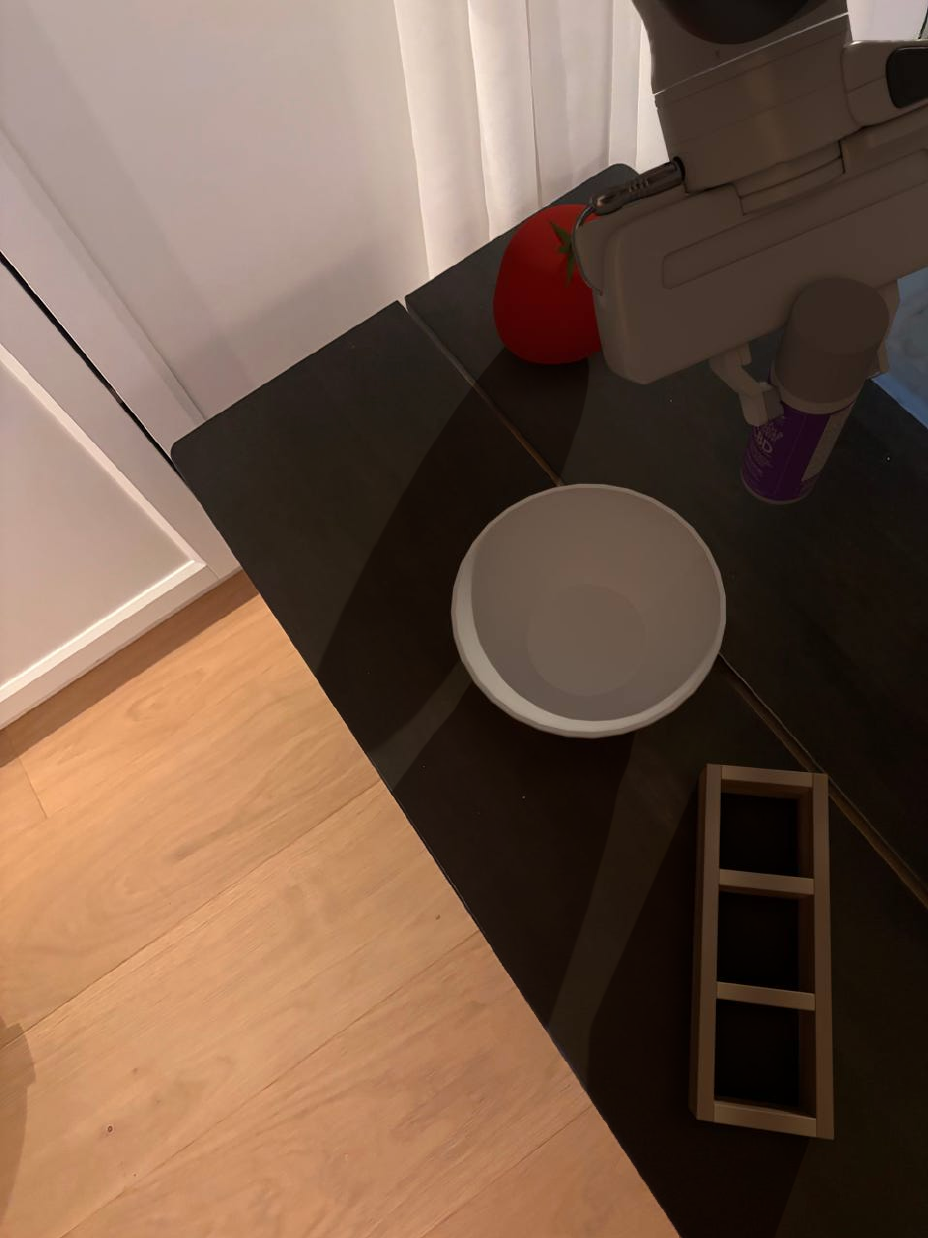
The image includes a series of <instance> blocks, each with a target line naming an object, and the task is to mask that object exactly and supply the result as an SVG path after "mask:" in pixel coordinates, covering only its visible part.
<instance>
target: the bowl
mask: <svg viewBox="0 0 928 1238" xmlns="http://www.w3.org/2000/svg"><path fill="white" fill-rule="evenodd" d="M724 587H725V586H724V584H723V579H722V575H721V571H720V569H719V566H718V565H717V563H716V561H715V559H714V556H713V554H712V552H711V550H710V548H709V547H708V546H707V544H706V542H705V541H704V540H703V539H702V537H701V536H700V535H699V533H698V532H697V531H696V529H695V528H694V527H693V526H692V525H691V524H690V523H688V521H687V520H685V518H683V517H682V516H681V515H680V514H679V513H678V512H676V511H675V510H673V509H672V508H670V507H668V506H667V505H665V504H664V503H662V502H660V501H659V500H657V499H655V498H654V497H652V496H649V495H646V494H643V493H640V492H638V491H635V490H633V489H630V488H626V487H620V486H615V485H610V484H606V483H605V484H604V483H576V484H575V483H573V484H568V485H564V486H563V485H562V486H556V487H552V488H549V489H546V490H543V491H540V492H537V493H535V494H531V495H529V496H527V497H525V498H523V499H521V500H520V501H518V502H516V503H514V504H513V505H510V506H509V507H507V508H506V509H505V510H503V511H502V512H501V513H499V515H497V516H496V517H494V519H493V520H491V521H490V522H489V523H488V524H487V525H486V526H485V527H484V529H483V530H482V531H481V532H480V533H479V534H478V536H477V537H476V538H475V539H474V540H473V542H472V543H471V545H470V547H469V548H468V550H467V552H466V553H465V555H464V557H463V559H462V561H461V563H460V564H459V569H458V572H457V574H456V578H455V581H454V584H453V587H452V596H451V597H452V598H451V608H450V618H451V626H452V636H453V639H454V643H455V646H456V648H457V652H458V655H459V657H460V660H461V662H462V664H463V666H464V667H465V669H466V671H467V673H468V675H469V676H470V678H471V680H472V681H473V683H474V684H475V685H476V687H478V689H479V690H480V691H481V692H482V693H483V694H484V695H485V696H486V697H487V699H488V700H489V702H491V704H493V705H495V706H496V707H498V709H500V710H502V711H503V712H505V713H506V714H507V715H508V716H510V717H511V718H513V719H515V721H519V722H520V723H523V724H525V725H527V726H529V727H531V728H534V729H536V730H538V731H541V732H545V733H549V734H553V735H557V736H560V737H561V736H562V737H565V738H578V739H601V738H607V737H614V736H622V735H625V734H628V733H631V732H634V731H638V730H640V729H643V728H647V727H649V726H651V725H653V724H655V723H657V722H658V721H660V720H661V719H663V718H664V717H666V716H668V715H670V714H672V713H673V712H674V711H676V710H677V709H679V707H680V706H682V705H683V704H684V703H685V702H686V701H687V700H688V699H689V698H690V697H691V696H693V694H695V693H696V691H697V690H698V688H699V687H700V686H701V684H702V683H703V682H704V680H705V679H706V678H707V676H708V675H709V673H710V672H711V670H712V668H713V666H714V663H715V661H716V659H717V657H718V655H719V652H720V650H721V647H722V645H723V644H722V643H723V638H724V634H725V629H726V623H727V603H726V602H727V600H726V599H727V598H726V597H727V596H726V592H725V588H724Z"/></svg>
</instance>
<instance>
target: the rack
mask: <svg viewBox="0 0 928 1238" xmlns="http://www.w3.org/2000/svg"><path fill="white" fill-rule="evenodd" d="M828 781H829V776H828V774H826V773H816V772H813V773H812V772H806V771H792V770H782V769H772V768H761V767H760V768H759V767H749V766H748V767H747V766H737V765H724V764H715V763H706V764H705V766H704V767H703V769H702V771H701V773H700V774H699V777H698V782H697V783H698V787H697V819H696V820H697V821H696V849H695V851H696V852H695V879H694V880H695V882H694V883H695V885H694V912H693V913H694V916H693V917H694V918H693V946H692V947H693V948H692V949H693V951H692V979H691V983H692V985H691V1007H690V1009H691V1010H690V1011H691V1013H690V1043H689V1044H690V1045H689V1076H688V1077H689V1078H688V1109H689V1110H690V1112H691V1113H692V1114H693V1116H694V1118H695V1119H696V1120H697V1121H704V1122H710V1123H716V1124H723V1125H731V1126H737V1127H743V1128H750V1129H756V1130H757V1129H758V1130H762V1131H770V1132H776V1133H784V1134H790V1135H797V1136H803V1137H810V1138H817V1139H823V1140H829V1141H830V1140H831V1141H834V1140H835V1121H834V1119H835V1118H834V1117H835V1116H834V1115H835V1113H834V1061H833V1059H834V1058H833V1056H834V1055H833V1053H834V1052H833V1006H832V1005H833V1004H832V1003H833V1002H832V944H831V941H832V940H831V891H830V890H831V889H830V888H831V886H830V885H831V884H830V831H829V829H830V827H829V826H830V825H829V823H830V822H829V782H828ZM721 793H722V794H733V795H742V796H743V795H744V796H753V797H763V798H764V797H765V798H776V799H786V800H787V799H788V800H796V801H797V807H796V808H797V809H796V811H797V814H796V815H797V816H796V817H797V819H796V821H797V822H796V823H797V825H796V826H797V827H796V829H797V837H796V839H797V877H796V876H789V875H779V874H768V873H760V872H759V873H758V872H751V871H750V872H749V871H743V870H742V871H741V870H733V869H722V868H720V845H721V843H720V838H721V837H720V836H721V801H722V800H721V796H722V794H721ZM719 892H724V893H732V894H742V895H749V896H750V895H751V896H759V897H768V898H778V899H785V900H786V899H787V900H795V901H797V957H798V958H797V977H798V978H797V981H798V982H797V983H798V984H797V985H798V986H797V987H798V989H797V990H798V991H794V990H787V989H781V988H780V989H779V988H771V987H764V986H763V987H762V986H756V985H748V984H739V983H733V982H732V983H731V982H723V981H717V977H718V975H717V973H718V971H717V970H718V968H717V967H718V964H717V963H718V934H719V933H718V931H719V930H718V929H719V927H718V925H719ZM717 999H719V1000H725V1001H732V1002H740V1003H748V1004H756V1005H763V1006H764V1005H765V1006H772V1007H778V1008H779V1007H780V1008H785V1009H787V1008H788V1009H794V1010H798V1012H797V1013H798V1106H795V1105H789V1104H781V1103H774V1102H767V1101H760V1100H754V1099H748V1098H747V1099H746V1098H741V1097H733V1096H726V1095H719V1094H715V1064H716V1063H715V1062H716V1061H715V1060H716V1059H715V1058H716V1022H717V1021H716V1020H717V1019H716V1018H717V1017H716V1015H717V1014H716V1013H717Z"/></svg>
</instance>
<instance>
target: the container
mask: <svg viewBox="0 0 928 1238" xmlns="http://www.w3.org/2000/svg"><path fill="white" fill-rule="evenodd" d="M888 325H889V311H888V307H887V305H886V303H885V301H884V299H883V298H882V297H881V295H880V294H879V293H878V292H877V291H875V290H874V289H873V288H871V287H870V286H868V285H866V284H864V283H862V282H859V281H856V280H852V279H847V278H831V279H825V280H822V281H819V282H816V283H814V284H812V285H810V286H809V287H807V288H806V289H805V290H804V291H802V292H801V294H800V295H799V296H798V297H797V299H796V301H795V303H794V305H793V308H792V311H791V314H790V316H789V319H788V322H787V325H786V326H785V327H784V331H783V333H782V337H781V339H780V341H779V344H778V347H777V350H776V352H775V356H774V359H773V361H772V363H771V367H770V369H769V372H768V376H767V379H766V383H769V385H770V384H774V385H777V386H778V387H779V391H780V395H781V400H780V404H782V405H783V407H784V415H783V416H781V417H779V418H777V419H774V420H772V421H770V422H768V423H766V424H764V425H761V426H758V427H757V426H754V425H752V427H751V430H750V433H749V436H748V440H747V443H746V446H745V450H744V453H743V456H742V460H741V462H740V469H739V472H740V478H741V482H742V484H743V486H744V488H745V489H746V490H747V491H748V492H749V493H750V494H751V495H752V496H753V497H755V498H756V499H758V500H760V501H762V502H764V503H768V504H771V505H781V506H782V505H790V504H793V503H796V502H798V501H801V500H802V499H804V498H805V497H807V496H808V495H809V494H810V493H811V491H812V490H813V489H814V487H815V485H816V483H817V481H818V479H819V477H820V475H821V474H822V472H823V471H822V470H823V469H824V466H825V465H826V462H827V461H828V459H829V457H830V454H831V452H832V450H833V449H834V446H835V444H836V442H837V440H838V438H839V436H840V434H841V432H842V430H843V428H844V426H845V424H846V422H847V420H848V418H849V416H850V413H851V411H852V410H853V407H854V405H855V404H856V402H857V400H858V398H859V395H860V393H861V391H862V388H863V386H864V383H865V382H866V381H865V379H866V377H867V374H868V372H869V370H870V368H871V365H872V363H873V361H874V358H875V356H876V354H877V351H878V349H879V347H880V345H881V342H882V340H883V338H884V335H885V333H886V331H887V328H888ZM864 381H865V382H864Z"/></svg>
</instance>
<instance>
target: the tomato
mask: <svg viewBox="0 0 928 1238" xmlns="http://www.w3.org/2000/svg"><path fill="white" fill-rule="evenodd" d="M586 206H587V205H585V204H560V205H554V206H551V207H547V208H545V209H543V210H541V211H539V212H537V213H536V214H533V215H532V216H531V217H529V218H528V219H527V220H526V221H524V222H523V223H522V224H521V226H519V227H518V228H517V230H515V232H514V233H513V235H512V237H511V238H510V240H509V241H508V244H507V245H506V247H505V250H504V253H503V255H502V258H501V261H500V263H499V268H498V273H497V277H496V282H495V286H494V292H493V299H492V314H493V321H494V324H495V327H496V331H497V334H498V336H499V338H500V341H501V343H502V344H503V345H504V347H505V348H506V349H508V350H509V351H510V352H511V353H512V354H514V355H516V356H517V357H518V358H520V359H522V360H525V361H527V362H529V363H535V364H541V365H561V364H570V363H573V362H578V361H581V360H583V359H586V358H588V357H591V356H592V355H594V354H596V353H597V352H599V351H601V350H603V349H602V344H601V340H600V335H599V330H598V325H597V320H596V314H595V307H594V300H593V292H592V289H590V288H589V287H588V286H587V285H586V284H585V282H584V281H583V279H582V277H581V275H580V272H579V269H578V265H577V262H576V259H575V255H574V252H573V249H572V241H571V238H572V230H573V226H574V223H575V221H576V219H577V217H578V215H579V214H580V213H581V211H582V210H583V209H584V208H585V207H586ZM599 217H602V216H595V215H594V214H593V213H592V214H591V215H589V216H588V217H587V219H586V220H585V222H584V224H585V223H587V222H590V221H592V220H595V219H597V218H599Z"/></svg>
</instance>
